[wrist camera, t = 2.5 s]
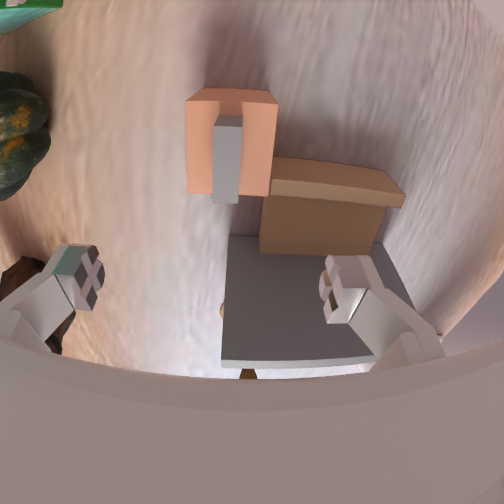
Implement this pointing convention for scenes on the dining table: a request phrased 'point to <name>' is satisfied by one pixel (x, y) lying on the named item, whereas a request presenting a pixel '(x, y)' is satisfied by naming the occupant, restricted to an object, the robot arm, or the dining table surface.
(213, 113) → the tall peach box
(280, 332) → the board
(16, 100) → the squash
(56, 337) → the owl
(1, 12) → the milk carton
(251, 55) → the dining table surface
